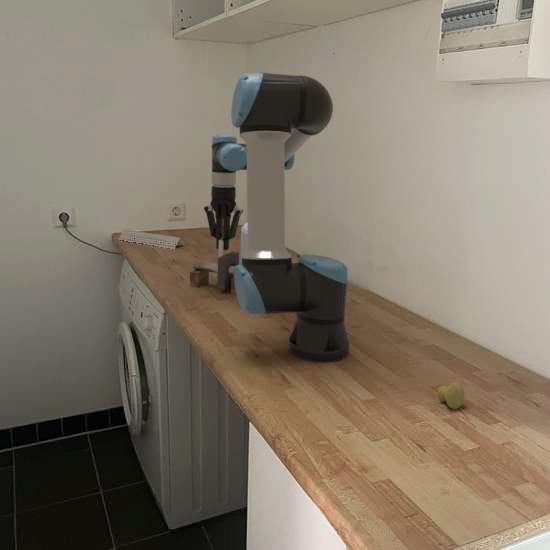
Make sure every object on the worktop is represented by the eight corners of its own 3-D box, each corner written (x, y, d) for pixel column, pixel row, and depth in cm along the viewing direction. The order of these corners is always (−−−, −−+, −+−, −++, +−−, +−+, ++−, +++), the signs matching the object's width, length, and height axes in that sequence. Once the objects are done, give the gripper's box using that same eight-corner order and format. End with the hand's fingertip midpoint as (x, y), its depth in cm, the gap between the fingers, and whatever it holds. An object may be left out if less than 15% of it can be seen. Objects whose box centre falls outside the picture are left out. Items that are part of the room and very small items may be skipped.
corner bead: (117, 242, 247) (116, 231, 245) (130, 238, 254) (130, 227, 253) (173, 251, 235) (173, 239, 234) (186, 247, 243) (186, 235, 242)
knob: (466, 406, 117) (470, 384, 116) (449, 412, 114) (453, 389, 113) (448, 396, 121) (451, 375, 120) (431, 402, 118) (434, 380, 117)
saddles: (249, 289, 188) (249, 274, 186) (239, 295, 181) (239, 279, 180) (200, 281, 194) (200, 267, 193) (189, 286, 188) (190, 271, 186)
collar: (238, 281, 190) (238, 252, 187) (224, 289, 181) (224, 258, 178) (231, 280, 191) (232, 251, 188) (217, 288, 182) (217, 257, 179)
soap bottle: (261, 265, 217) (263, 205, 210) (269, 270, 211) (271, 208, 204) (239, 267, 213) (240, 206, 207) (246, 272, 207) (247, 209, 201)
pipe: (246, 276, 184) (247, 266, 184) (242, 278, 182) (242, 268, 181) (197, 268, 191) (197, 259, 190) (193, 270, 188) (193, 261, 187)
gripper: (247, 186, 179) (245, 259, 186) (211, 182, 184) (210, 254, 190) (237, 188, 173) (235, 264, 179) (199, 185, 177) (198, 259, 184)
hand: (222, 259), depth 185 cm, fingers closed
